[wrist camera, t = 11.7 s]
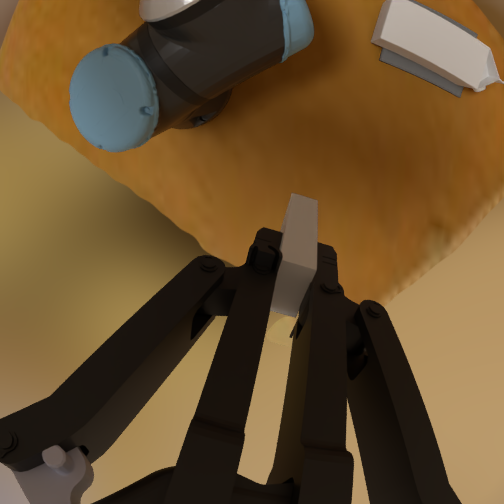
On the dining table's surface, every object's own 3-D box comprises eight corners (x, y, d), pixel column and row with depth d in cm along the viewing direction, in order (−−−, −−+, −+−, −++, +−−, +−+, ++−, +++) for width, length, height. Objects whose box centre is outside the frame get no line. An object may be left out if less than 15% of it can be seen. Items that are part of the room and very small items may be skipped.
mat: (378, 60, 37) (380, 60, 36) (396, -6, 30) (397, -7, 29) (458, 97, 36) (460, 97, 36) (475, 34, 30) (477, 34, 29)
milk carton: (392, -8, 25) (510, 63, 25) (381, 2, 31) (488, 61, 31) (378, 37, 29) (497, 104, 29) (369, 41, 35) (476, 97, 35)
